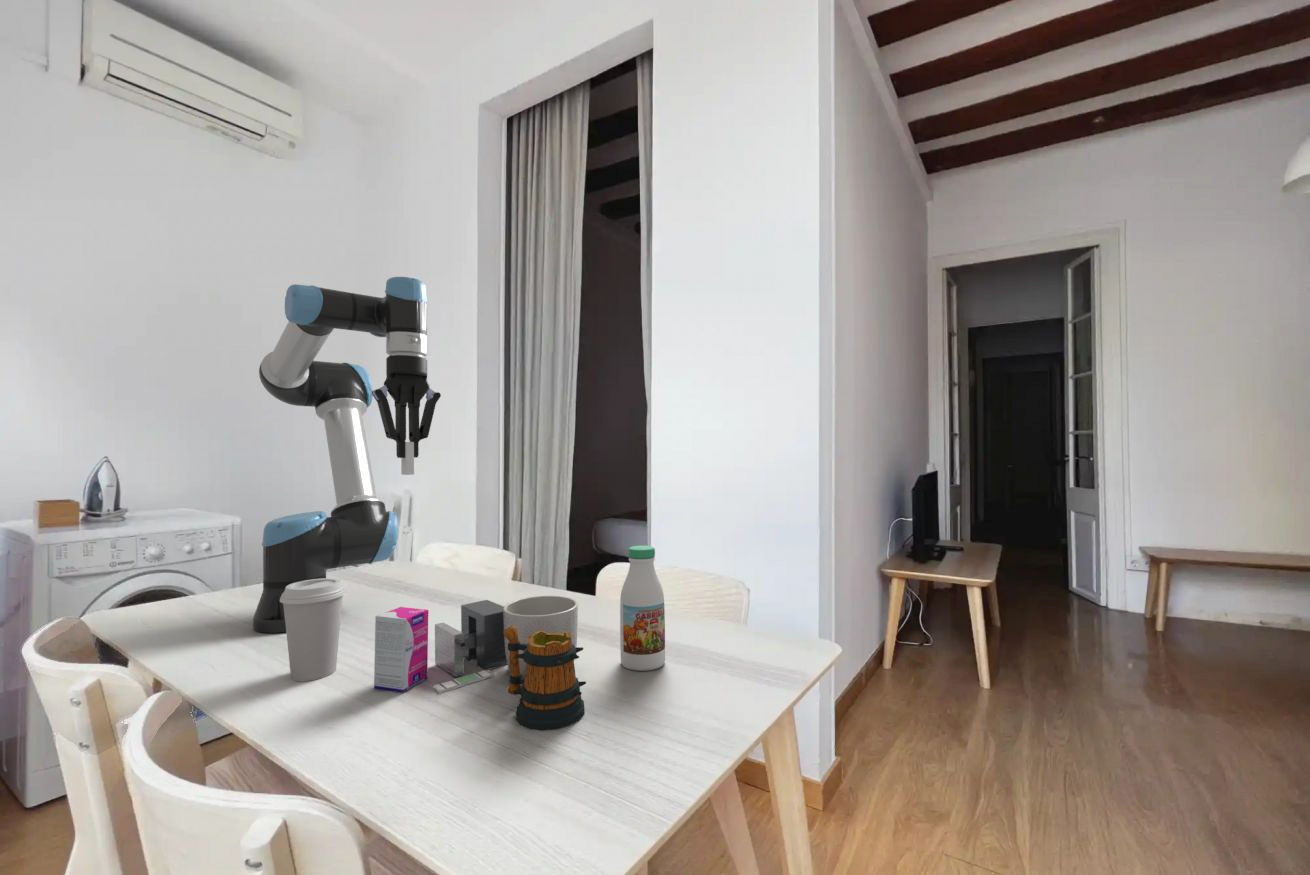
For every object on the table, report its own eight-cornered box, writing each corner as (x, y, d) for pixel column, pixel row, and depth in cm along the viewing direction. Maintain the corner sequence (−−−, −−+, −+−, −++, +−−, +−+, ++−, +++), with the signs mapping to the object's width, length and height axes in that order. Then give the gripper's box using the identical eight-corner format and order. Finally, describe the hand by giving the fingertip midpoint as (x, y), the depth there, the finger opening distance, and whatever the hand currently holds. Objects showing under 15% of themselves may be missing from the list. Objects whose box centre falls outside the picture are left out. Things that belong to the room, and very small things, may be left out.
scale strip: (433, 688, 88) (433, 685, 88) (487, 672, 94) (487, 669, 94) (439, 693, 86) (439, 690, 86) (493, 676, 93) (493, 673, 93)
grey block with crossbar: (435, 663, 98) (434, 624, 98) (498, 645, 106) (498, 609, 106) (461, 681, 90) (461, 638, 90) (527, 660, 98) (527, 622, 98)
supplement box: (404, 693, 86) (404, 618, 87) (372, 689, 88) (372, 616, 88) (429, 678, 92) (429, 608, 92) (399, 675, 94) (398, 605, 94)
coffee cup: (337, 658, 101) (336, 574, 102) (354, 672, 95) (353, 583, 95) (274, 673, 95) (273, 584, 95) (287, 690, 88) (287, 594, 88)
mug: (600, 704, 82) (599, 624, 82) (560, 738, 73) (559, 648, 73) (526, 689, 87) (526, 614, 88) (481, 719, 78) (480, 635, 78)
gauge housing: (461, 656, 101) (461, 605, 102) (487, 649, 105) (487, 599, 105) (484, 670, 95) (484, 615, 95) (511, 662, 98) (511, 609, 98)
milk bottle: (611, 664, 97) (610, 547, 97) (642, 651, 103) (641, 541, 103) (643, 676, 92) (642, 553, 92) (674, 662, 98) (673, 546, 98)
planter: (535, 652, 103) (534, 592, 103) (592, 663, 98) (591, 599, 98) (487, 677, 92) (486, 610, 92) (549, 691, 87) (548, 620, 87)
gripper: (378, 350, 106) (379, 476, 105) (446, 357, 115) (447, 473, 114) (366, 355, 111) (366, 475, 111) (432, 361, 120) (432, 472, 120)
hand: (407, 474), depth 113 cm, fingers closed
